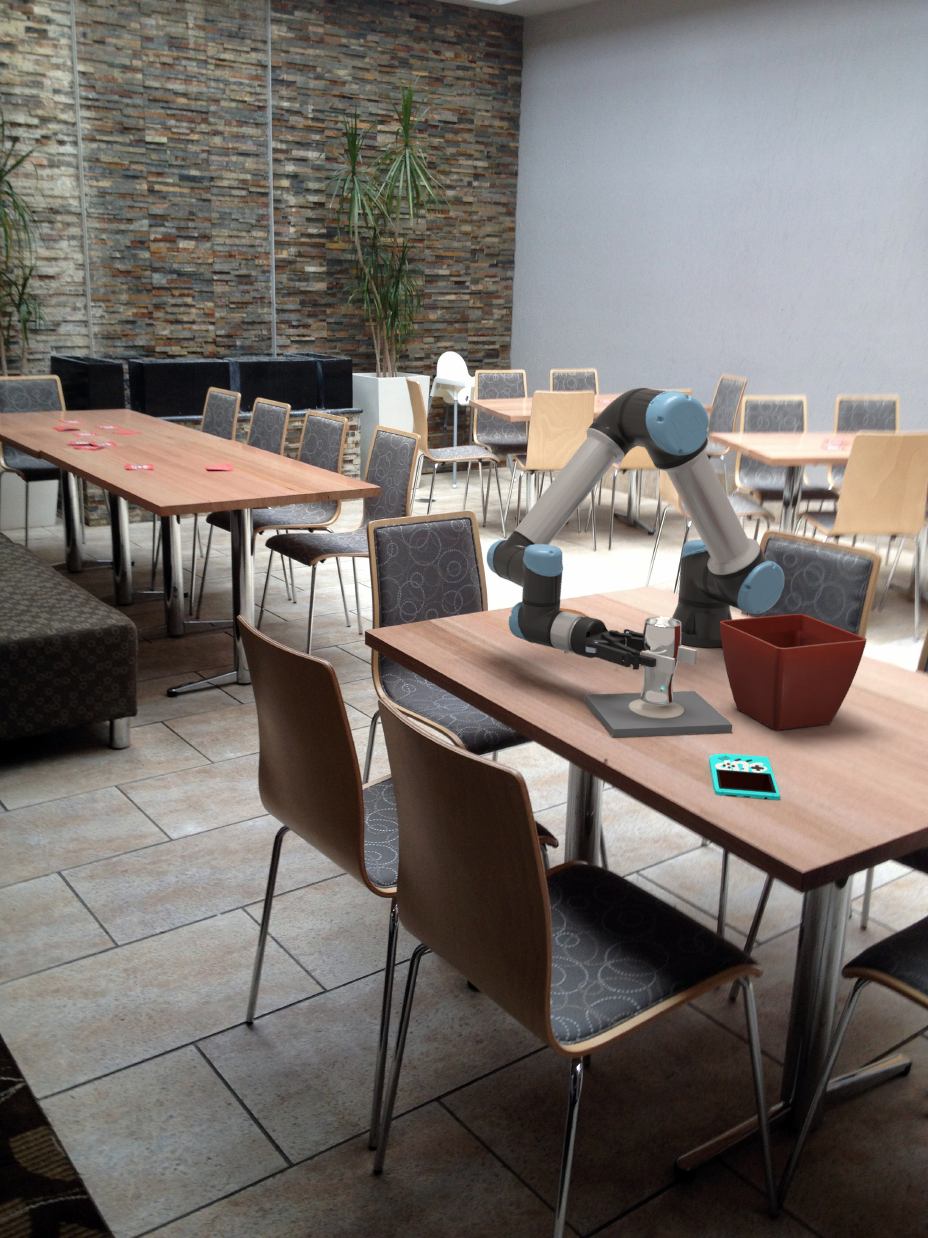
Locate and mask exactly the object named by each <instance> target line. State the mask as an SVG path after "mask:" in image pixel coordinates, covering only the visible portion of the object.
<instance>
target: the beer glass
mask: <svg viewBox="0 0 928 1238" xmlns="http://www.w3.org/2000/svg"><path fill="white" fill-rule="evenodd" d="M643 624H644V625H643V630H642V633H643V636H642V651H647V652H650V653H655V654H659V655H663V656H666V657H670V658H674V659H675V668H674V674H669V673H665V672H661V671H658V670H654V669H650V668H647V667H643V666H642V668H643V671H642V672H643V685H642V688H641V692H640V693H641V696H640V699H641V701H643V702H644V703H647V704H650V705H657V706H664V705H670V704H672V703H673V702H674V695H673V692H674V684H673V683H674V679H675V674H676V670H677V667H678V664H679V663H678V662H679V661H678V660H679V655H680V649H681V646H682V644H681V624H682V623H681V622H680V621H679V620H677V619H673V618H672V617H669V616H649V617H648V618H645V619H644V623H643Z"/></svg>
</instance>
